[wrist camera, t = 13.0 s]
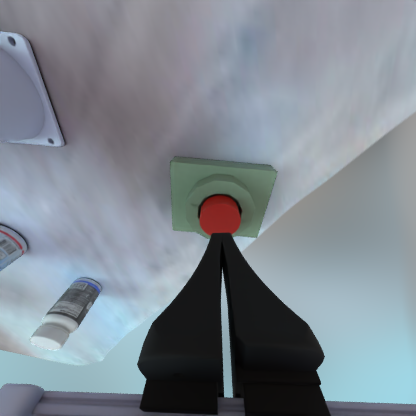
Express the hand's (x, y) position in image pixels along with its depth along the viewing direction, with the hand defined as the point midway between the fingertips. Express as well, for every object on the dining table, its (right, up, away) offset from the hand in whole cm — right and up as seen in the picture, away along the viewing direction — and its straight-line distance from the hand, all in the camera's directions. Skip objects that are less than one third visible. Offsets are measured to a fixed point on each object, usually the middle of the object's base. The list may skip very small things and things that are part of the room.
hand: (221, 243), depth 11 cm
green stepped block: (0, +4, +7) cm, 8 cm away
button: (0, +2, +4) cm, 4 cm away
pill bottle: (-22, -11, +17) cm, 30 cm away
